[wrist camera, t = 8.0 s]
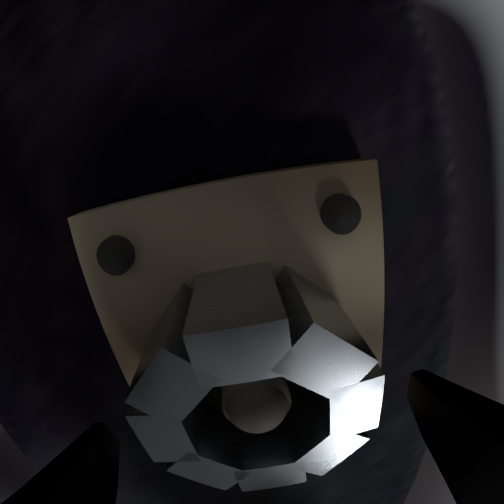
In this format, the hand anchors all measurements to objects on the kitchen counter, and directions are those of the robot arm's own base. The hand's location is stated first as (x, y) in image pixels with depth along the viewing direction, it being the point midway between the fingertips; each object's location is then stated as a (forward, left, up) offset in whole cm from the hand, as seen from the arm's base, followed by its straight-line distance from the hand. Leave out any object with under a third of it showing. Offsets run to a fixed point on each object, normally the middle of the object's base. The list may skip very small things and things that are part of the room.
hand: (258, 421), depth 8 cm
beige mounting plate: (0, 0, -4) cm, 4 cm away
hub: (0, 0, -3) cm, 3 cm away
